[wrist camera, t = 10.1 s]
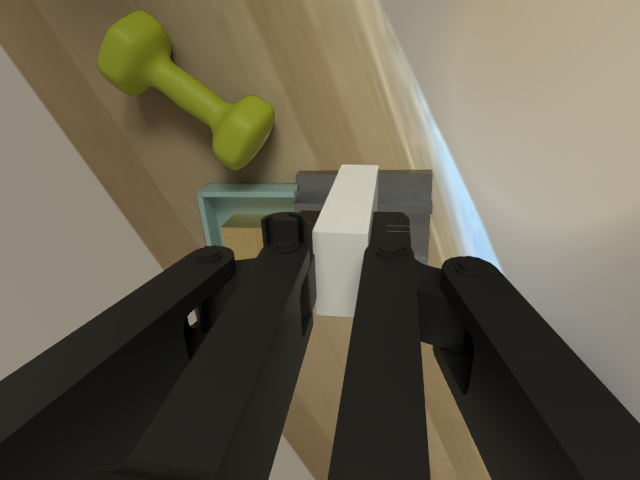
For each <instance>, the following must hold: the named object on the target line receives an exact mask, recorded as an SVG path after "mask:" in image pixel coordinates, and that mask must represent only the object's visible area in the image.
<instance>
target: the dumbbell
mask: <svg viewBox="0 0 640 480" xmlns="http://www.w3.org/2000/svg"><path fill="white" fill-rule="evenodd" d="M171 51H172V45H171V41H170V38H169V36H168V34H167V32H166V30H165V29H164V27H163V26H162V25H161V24H160V23H159V21H158V20H156V19H155V18H154V17H152V16H151V15H150V14H148V13H147V12H145V11H135V12H133V13H131V14H129V15H127V16H125V17H124V18H122V19H120V20H119V21H117V22H116V23H114V24H113V25H112V26H111V27H110V28H109V30H108V31H107V33H106V35H105V37H104V40H103V43H102V45H101V48H100V51H99V54H98V58H97V68H98V70H99V72H100V73H101V74H102V75H103V77H104V78H105V79H106V80H108V81H109V82H110V83H111V84H112V85H114V86H115V87H116V88H118V89H119V90H121V91H122V92H124V93H126V94H128V95H131V96H136V95H139V94H141V93H143V92H144V91H146V90H147V89H148V88H150V87H154V88H157V89H158V90H160V91H161V92H162V93H164V94H165V95H166V96H167V97H168V98H170V99H171V100H172V101H173V102H175V103H176V104H177V105H178V106H180V107H181V108H182V109H184V110H185V111H186V112H188V113H190V114H191V115H193V116H194V117H196V118H197V119H199V120H201V121H202V122H204V123H205V124H207V125H208V126H209V127H210V129H211V130H212V133H213V141H212V149H213V153H214V155H215V157H216V158H217V159H218V160H219V161H220V162H221V163H222V164H224V165H225V166H226V167H228V168H229V169H231V170H235V171H236V170H240V169H242V168H243V167H245V166H246V165H247V164H248V163H249V162H250V161H251V160H252V159H253V157H254V156H255V155H256V154H257V153H258V152H259V150H260V149H261V148H262V146H263V145H264V143H265V142H266V140H267V139H268V137H269V135H270V133H271V131H272V128H273V125H274V116H275V113H274V109H273V108H272V106H271V105H270V104H269V103H267V102H266V101H265V100H263V99H262V98H260V97H258V96H255V95H251V96H247V97H245V98H243V99H241V100H240V101H239V102H237V103H234V104H231V103H227V102H225V101H224V100H222V99H221V98H220V97H219V96H217V95H216V94H215V93H214V92H213V91H211V90H210V89H209V88H207V87H206V86H205V85H204V84H202V83H201V82H200V81H198V80H197V79H195V78H194V77H192V76H191V75H190V74H188V73H187V72H185V71H184V70H182V69H181V68H179V67H178V66H176V65H175V64H174V63H173V62H172V61H171V58H170V55H171Z"/></svg>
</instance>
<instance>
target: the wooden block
mask: <svg viewBox="0 0 640 480" xmlns="http://www.w3.org/2000/svg"><path fill="white" fill-rule="evenodd" d="M265 216H266V214H233V215H232V216H231V217H230V218H229V219H228V220H227V221H226V222H225V223H224V224H223V225H222V226H221V227H220V228H221V234H222V239H223V245H224V246H225V247H228V248H230V249H231V250H233V251H234V256H235V260H242V259H250V258H256V257H257V256H258V254H259V248H258V241H257V234H256V227H257V225H258V224H259V223H260V222H261V219H262V218H263V217H265Z"/></svg>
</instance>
